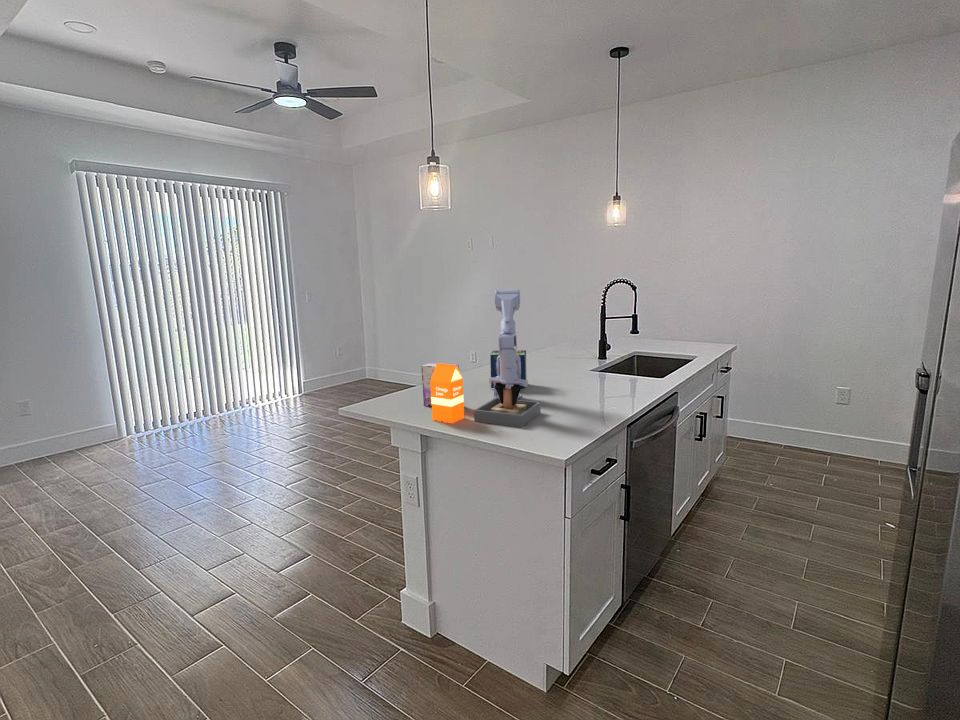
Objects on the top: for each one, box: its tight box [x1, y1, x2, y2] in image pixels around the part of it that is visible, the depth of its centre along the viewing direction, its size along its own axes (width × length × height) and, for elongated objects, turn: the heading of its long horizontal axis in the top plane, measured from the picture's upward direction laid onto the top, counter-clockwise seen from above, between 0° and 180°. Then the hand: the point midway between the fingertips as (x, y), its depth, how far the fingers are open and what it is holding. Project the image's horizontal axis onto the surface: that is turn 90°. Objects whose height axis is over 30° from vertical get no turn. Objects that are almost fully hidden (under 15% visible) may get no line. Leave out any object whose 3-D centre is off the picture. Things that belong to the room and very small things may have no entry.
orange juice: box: [430, 362, 465, 424], centre depth 182 cm, size 8×9×20 cm
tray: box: [473, 398, 541, 428], centre depth 184 cm, size 18×18×4 cm
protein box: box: [489, 349, 528, 390], centre depth 228 cm, size 10×15×16 cm
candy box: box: [421, 362, 460, 407], centre depth 200 cm, size 14×6×16 cm, turn 65°
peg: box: [503, 388, 514, 410], centre depth 186 cm, size 4×4×8 cm
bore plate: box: [490, 403, 527, 415], centre depth 187 cm, size 10×10×2 cm
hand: (508, 403), depth 187 cm, fingers closed on peg, 4 cm apart
